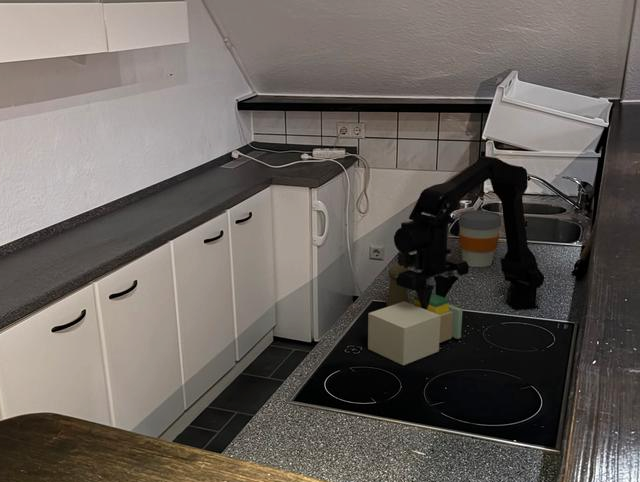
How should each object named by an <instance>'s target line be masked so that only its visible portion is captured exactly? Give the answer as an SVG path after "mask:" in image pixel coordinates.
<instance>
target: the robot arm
mask: <svg viewBox="0 0 640 482" xmlns="http://www.w3.org/2000/svg"><path fill="white" fill-rule="evenodd" d="M528 174H529V173H528V171H527V169H526V168H525V167H524V166H520V165H515V164H510V163H508V162H506V161H504V160H501V159H500V158H498V157H493V156H488V155H483V156H480V157H478V159H477V160H476V161H475V162H474V163H472V164H471V165H470V166H468V167H466V168H465V169H464V170H462V171H461V172H460V173H458V174H456V175H455V176H453V178H450V180H448V181H445V182H441V183H438V184H433V185H430V186H428V187H426V188H424V189H423V190H422V191H421V192H420V194H419V197H418V199H417V201H416V202H415V205H414V207H413V208H412V211H411V212H410V214H409V217H408V220H409V221H403V222H401V223H400V227H399V228H398V229H396V231H395V234H394V235H393V242H394V246H395V248H396V249H397V251H398V253H397V265H400V266H404V269H405V268H412V267H414V270H411V269H408V271H405V272H402V273H399V274H398V275H397V276H396V285H399V286H402V287H404V288H407V290H410V291H415V293H416V295H417V296H418V298H419V301H420V304H421V307H422V308H423V309H426V310H427V308H428V305H429V301H430V298H431V294H432V293H433V290H434V285H431V284H430V280H431V279H432V278H433V280H434V282H435V294H436V295H438V296H441V297H444V298H446V297H447V295H448V293H449V292H450V290H451V289H452V288H453V286H454V284H455V283H456V282H457V281H458V280H459V276H465V275H468V274H469V269H470V266H469V265H468V264H467V262H466V261H463V260H462V259H459V258H457V257H453V256H450V257H447V256H448V255H449V254H452V253H451V252H452V249H451V248H449V247H448V234H449V225H450V224H454V223H455V222H456V220H455V218H454V217H452V216H451V214H452V213H453V212H454V211H455V210H456V209H458V207H459V204H460V201H461V200H462V199H463V198H464V197H465V196H467V195H469V194H470V193H471V192H472V191H474V190H475V189H477V188H478V187H479V186H480V185H482V184H483V183H485V182H486V181H488V180H489V181H490V184H491V187H492V191H493V193H494V194H495V195H496V197H497V198H498V199H499V201H500V205H501V211H502V218H503V224H504V225H503V226H504V233H505V240H506V249H507V251H506V252H505V254H504V256H503V257H501V259H500V260H499V262H500V265H501V268H500V269H501V270H500V271H501V272H502V273H503V276H504V281H505V282H509V286H508V287H507V292H506V299H505V302H506V303H507V304H508V305H509V306H510V307H512V309H513V310H527V309H538V308H539V305H538V304H537V303H536V302H537V293H538V289H539V288H541V287H542V286H543V284H544V281H545V276H544V274H543V273H542V271H541V270H540V269H539V266H538V261H537V258H536V256H535V254H534V253H533V252H532V250H531V249H530V248H529V245H528V237H527V229H526V220H525V211H524V210H525V209H524V203H523V196H524V195H525V193H526V191H527V189H528V185H529V183H528V181H529V180H528V179H529V176H528ZM415 270H416V271H415ZM418 271H420V272H418ZM454 271H456V273H457V274H458V276H456V275H455V273H454Z"/></svg>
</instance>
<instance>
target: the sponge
mask: <svg viewBox="0 0 640 482" xmlns="http://www.w3.org/2000/svg"><path fill="white" fill-rule="evenodd" d="M413 305H415V306H418V307H420V308H422V307H421V304H420V301H419V298H418V296H417V294H415V295H413ZM449 305H450V298H446V297H445V298H444V297H441V296H438V295H436V293H433V292H432V294H431V298H430V301H429V305H428V308H427V310H428V311H431V312H433V313H436V314H439V315H441V314H444V313H447V312H449Z"/></svg>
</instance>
